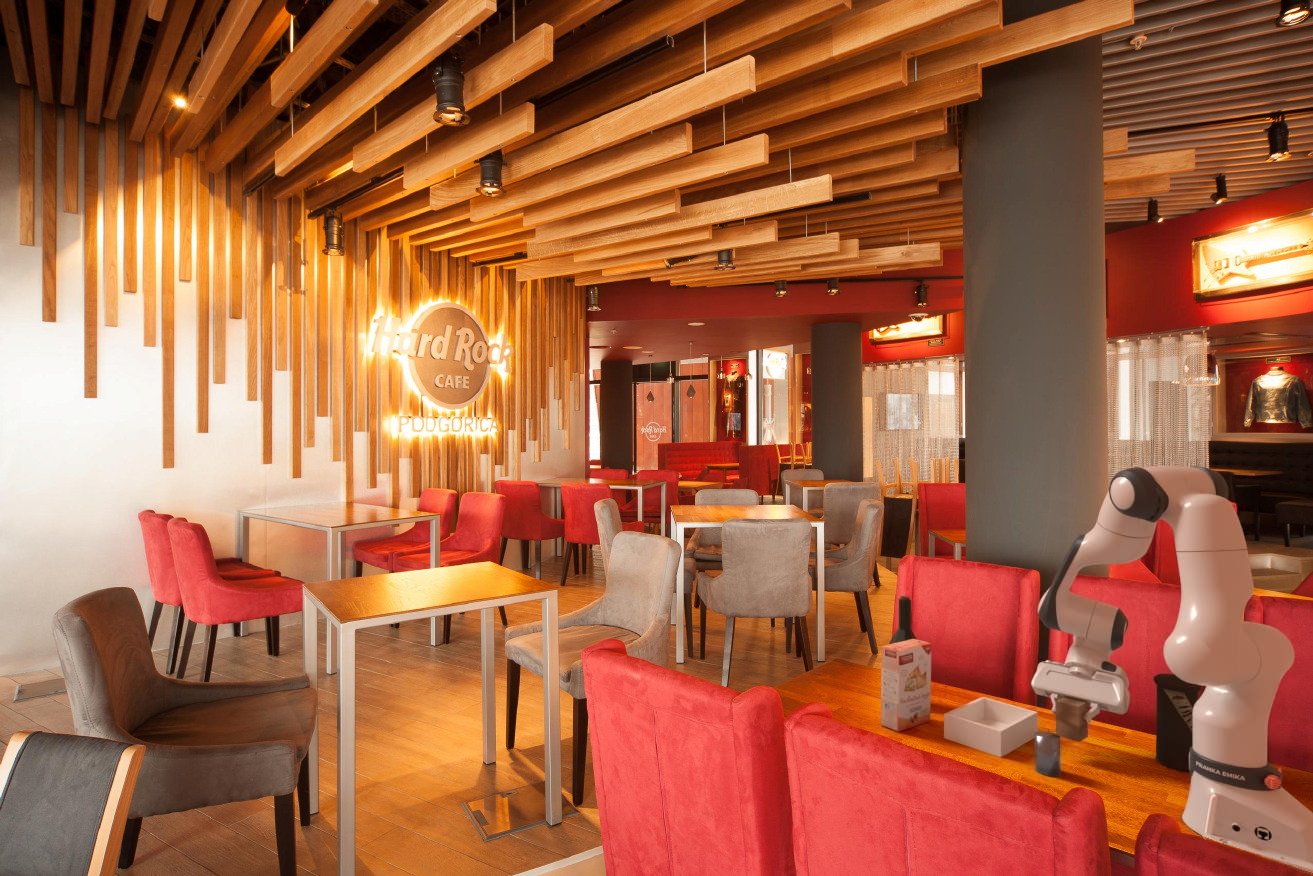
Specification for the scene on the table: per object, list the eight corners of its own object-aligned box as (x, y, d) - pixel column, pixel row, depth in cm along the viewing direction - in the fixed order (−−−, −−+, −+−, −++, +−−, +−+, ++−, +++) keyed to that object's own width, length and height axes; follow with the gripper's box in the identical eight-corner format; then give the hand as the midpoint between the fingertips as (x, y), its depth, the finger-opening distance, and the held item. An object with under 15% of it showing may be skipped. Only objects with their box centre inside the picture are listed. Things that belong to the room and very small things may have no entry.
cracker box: (899, 733, 179) (899, 650, 179) (879, 726, 184) (880, 645, 184) (932, 721, 187) (932, 642, 187) (912, 714, 192) (912, 637, 192)
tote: (1037, 736, 178) (1037, 712, 178) (1000, 757, 166) (1000, 731, 166) (982, 719, 189) (982, 696, 189) (944, 738, 176) (944, 714, 176)
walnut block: (1087, 736, 165) (1087, 702, 165) (1079, 742, 162) (1078, 706, 162) (1064, 730, 169) (1064, 696, 169) (1056, 735, 166) (1055, 701, 166)
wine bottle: (882, 699, 203) (883, 595, 204) (904, 695, 207) (905, 592, 207) (904, 709, 196) (904, 600, 196) (926, 705, 199) (927, 598, 200)
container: (1182, 774, 158) (1182, 684, 158) (1144, 757, 166) (1144, 672, 167) (1211, 770, 160) (1211, 681, 160) (1172, 753, 169) (1172, 669, 169)
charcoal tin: (1064, 772, 158) (1063, 735, 158) (1055, 778, 155) (1054, 741, 155) (1040, 764, 162) (1040, 729, 162) (1031, 771, 159) (1030, 735, 159)
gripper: (1036, 651, 179) (1020, 698, 172) (1129, 669, 163) (1115, 722, 156) (1044, 666, 181) (1028, 713, 175) (1137, 685, 165) (1123, 737, 159)
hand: (1070, 717), depth 165 cm, fingers closed on walnut block, 5 cm apart
